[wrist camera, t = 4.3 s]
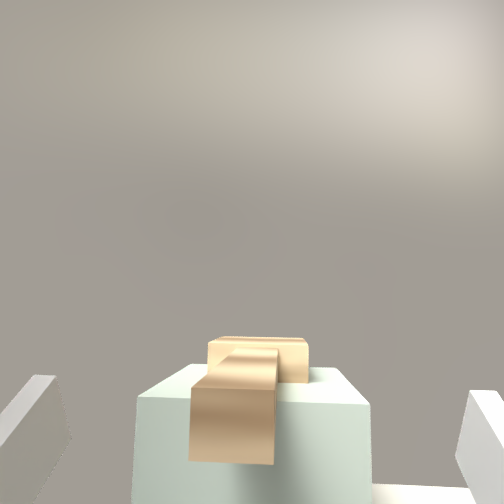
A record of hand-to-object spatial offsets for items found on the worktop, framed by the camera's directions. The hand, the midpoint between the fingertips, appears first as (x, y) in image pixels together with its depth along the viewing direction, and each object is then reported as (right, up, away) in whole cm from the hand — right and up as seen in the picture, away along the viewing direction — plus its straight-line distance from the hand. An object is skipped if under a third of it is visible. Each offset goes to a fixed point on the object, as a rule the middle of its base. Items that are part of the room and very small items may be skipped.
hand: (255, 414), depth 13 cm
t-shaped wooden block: (0, -2, +8) cm, 8 cm away
